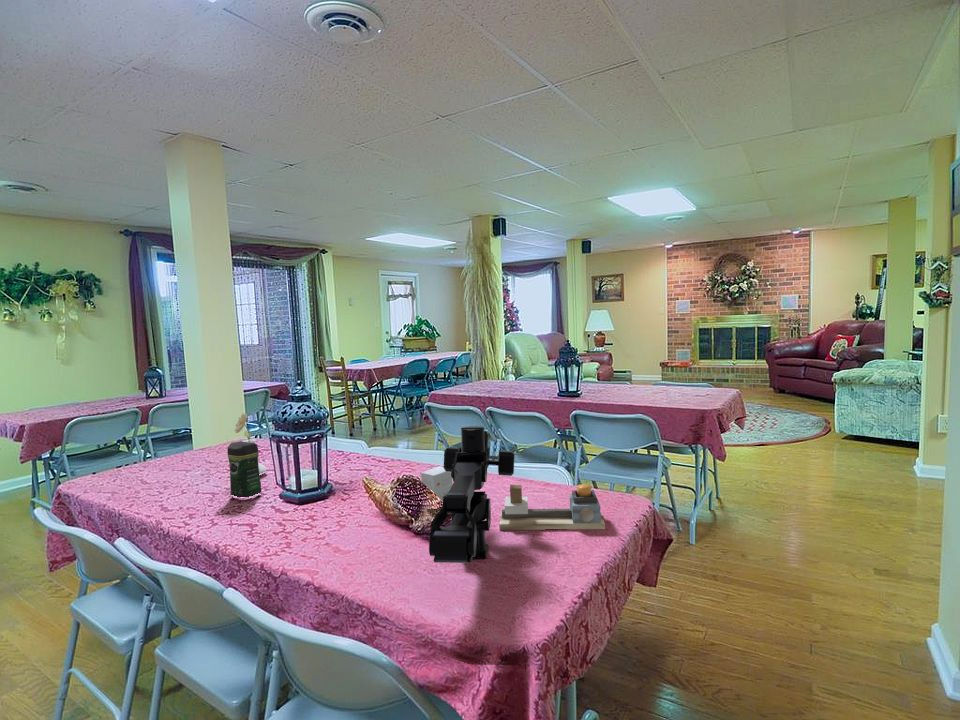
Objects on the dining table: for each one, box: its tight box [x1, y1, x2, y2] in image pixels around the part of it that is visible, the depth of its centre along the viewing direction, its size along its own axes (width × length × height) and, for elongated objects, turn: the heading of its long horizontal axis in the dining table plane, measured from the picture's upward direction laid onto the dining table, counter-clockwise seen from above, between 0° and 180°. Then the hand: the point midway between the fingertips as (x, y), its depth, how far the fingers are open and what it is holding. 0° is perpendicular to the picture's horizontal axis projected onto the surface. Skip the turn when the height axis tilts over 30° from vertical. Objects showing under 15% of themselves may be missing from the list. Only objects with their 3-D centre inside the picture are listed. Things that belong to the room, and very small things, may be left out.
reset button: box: [576, 483, 592, 497], centre depth 132 cm, size 4×4×2 cm
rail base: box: [499, 489, 606, 531], centre depth 134 cm, size 10×27×8 cm, turn 85°
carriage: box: [504, 484, 529, 514], centre depth 134 cm, size 7×6×6 cm
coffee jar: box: [227, 440, 262, 497], centre depth 165 cm, size 10×8×19 cm
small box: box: [420, 465, 454, 501], centre depth 150 cm, size 8×6×10 cm
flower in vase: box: [234, 412, 268, 474], centre depth 188 cm, size 13×11×25 cm
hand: (482, 456), depth 142 cm, fingers open, 9 cm apart
